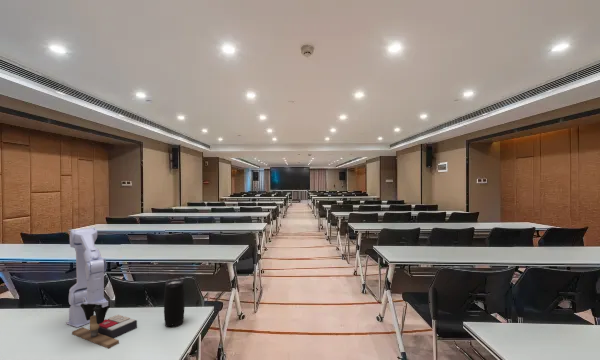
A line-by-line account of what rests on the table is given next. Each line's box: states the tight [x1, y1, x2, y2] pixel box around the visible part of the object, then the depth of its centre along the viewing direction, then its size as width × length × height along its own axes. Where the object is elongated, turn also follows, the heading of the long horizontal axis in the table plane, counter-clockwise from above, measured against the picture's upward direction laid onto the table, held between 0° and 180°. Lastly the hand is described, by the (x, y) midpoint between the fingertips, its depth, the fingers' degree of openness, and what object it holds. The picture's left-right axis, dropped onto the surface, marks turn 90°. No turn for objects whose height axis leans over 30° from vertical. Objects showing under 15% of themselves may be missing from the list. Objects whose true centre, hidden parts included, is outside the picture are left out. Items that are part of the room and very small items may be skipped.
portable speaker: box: [163, 278, 186, 328], centre depth 128 cm, size 9×9×20 cm
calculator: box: [98, 314, 138, 339], centre depth 123 cm, size 11×4×15 cm
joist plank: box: [71, 326, 120, 349], centre depth 115 cm, size 26×4×1 cm, turn 65°
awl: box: [89, 314, 99, 337], centre depth 115 cm, size 3×3×8 cm
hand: (94, 321), depth 116 cm, fingers open, 7 cm apart
